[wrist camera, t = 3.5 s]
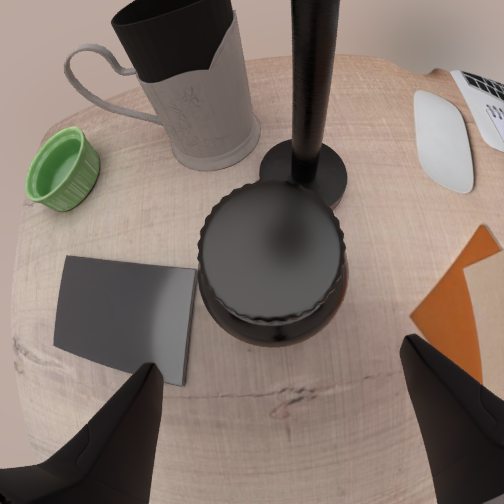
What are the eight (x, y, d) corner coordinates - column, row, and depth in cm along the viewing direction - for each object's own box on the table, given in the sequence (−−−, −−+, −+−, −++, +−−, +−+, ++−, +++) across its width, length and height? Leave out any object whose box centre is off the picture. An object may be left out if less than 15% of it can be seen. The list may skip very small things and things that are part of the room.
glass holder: (263, 165, 23) (238, 3, 9) (118, 185, 24) (21, 86, 10) (257, 99, 26) (238, -30, 11) (133, 121, 27) (71, 24, 12)
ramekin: (79, 140, 27) (61, 121, 23) (119, 159, 25) (98, 135, 21) (38, 199, 26) (16, 184, 22) (70, 230, 24) (43, 214, 20)
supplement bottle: (224, 335, 20) (149, 339, 8) (234, 245, 21) (184, 152, 10) (319, 343, 19) (371, 360, 7) (324, 251, 20) (368, 160, 9)
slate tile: (185, 385, 19) (182, 386, 18) (57, 345, 20) (53, 345, 20) (198, 270, 21) (195, 268, 21) (69, 256, 23) (66, 255, 22)
